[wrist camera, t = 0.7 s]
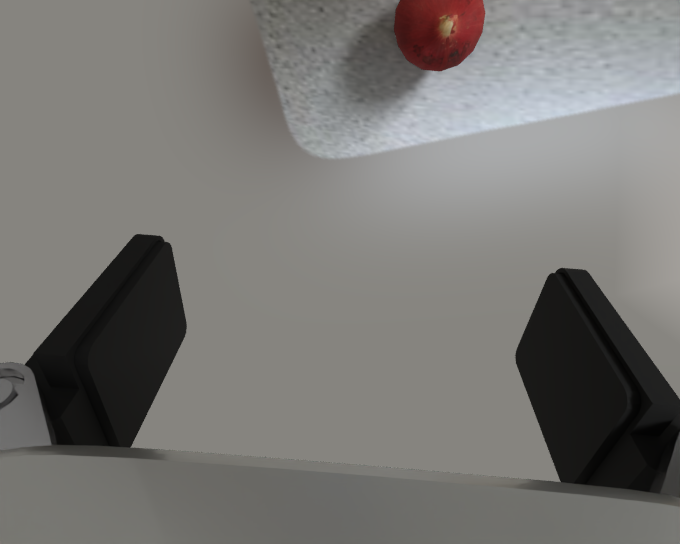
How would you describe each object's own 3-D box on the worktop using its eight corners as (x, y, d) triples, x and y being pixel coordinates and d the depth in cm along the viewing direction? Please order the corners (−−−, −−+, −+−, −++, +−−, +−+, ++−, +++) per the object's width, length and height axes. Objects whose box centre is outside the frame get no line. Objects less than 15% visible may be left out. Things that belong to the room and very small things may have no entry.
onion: (478, 44, 32) (507, 63, 26) (404, 73, 34) (413, 97, 27) (462, -46, 29) (491, -51, 23) (381, -11, 31) (386, -6, 24)
